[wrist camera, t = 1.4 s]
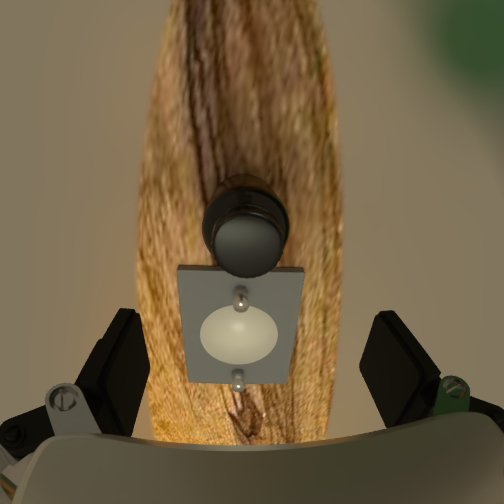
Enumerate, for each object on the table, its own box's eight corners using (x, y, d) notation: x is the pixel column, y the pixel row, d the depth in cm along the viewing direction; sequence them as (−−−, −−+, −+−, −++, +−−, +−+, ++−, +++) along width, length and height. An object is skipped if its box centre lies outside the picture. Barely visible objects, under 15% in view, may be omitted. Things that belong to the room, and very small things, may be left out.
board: (178, 265, 32) (171, 283, 28) (302, 267, 33) (310, 285, 29) (189, 376, 39) (186, 397, 35) (285, 377, 40) (289, 398, 36)
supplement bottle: (289, 209, 30) (320, 253, 19) (239, 248, 32) (242, 311, 21) (247, 158, 28) (255, 173, 17) (196, 201, 29) (173, 243, 18)
